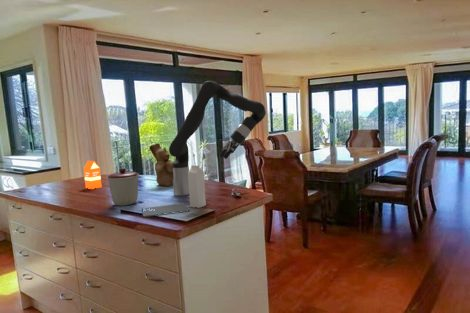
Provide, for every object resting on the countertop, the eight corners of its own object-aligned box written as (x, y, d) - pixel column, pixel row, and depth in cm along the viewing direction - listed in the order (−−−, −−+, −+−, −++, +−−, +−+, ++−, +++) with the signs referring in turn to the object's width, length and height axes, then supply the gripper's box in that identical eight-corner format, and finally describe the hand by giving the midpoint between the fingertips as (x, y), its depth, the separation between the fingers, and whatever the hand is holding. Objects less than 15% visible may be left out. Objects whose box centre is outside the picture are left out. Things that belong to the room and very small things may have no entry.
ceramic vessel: (168, 187, 245) (165, 144, 241) (146, 185, 256) (142, 144, 253) (183, 183, 258) (180, 142, 254) (162, 181, 270) (158, 142, 266)
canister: (116, 200, 213) (112, 166, 210) (145, 199, 212) (142, 164, 210) (104, 208, 195) (100, 171, 192) (136, 207, 194) (132, 169, 192)
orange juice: (95, 186, 265) (92, 160, 263) (101, 187, 260) (99, 160, 258) (85, 188, 259) (82, 161, 257) (92, 189, 254) (89, 161, 252)
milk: (197, 204, 193) (195, 164, 190) (206, 205, 189) (203, 164, 187) (190, 206, 188) (187, 166, 185) (198, 208, 184) (195, 166, 182)
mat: (143, 217, 173) (143, 216, 173) (141, 209, 188) (141, 208, 188) (189, 211, 179) (189, 209, 179) (184, 204, 194) (184, 203, 194)
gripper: (232, 129, 198) (214, 152, 196) (239, 129, 184) (220, 154, 182) (241, 138, 200) (224, 160, 198) (249, 138, 186) (231, 162, 184)
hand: (222, 157), depth 190 cm, fingers open, 8 cm apart
